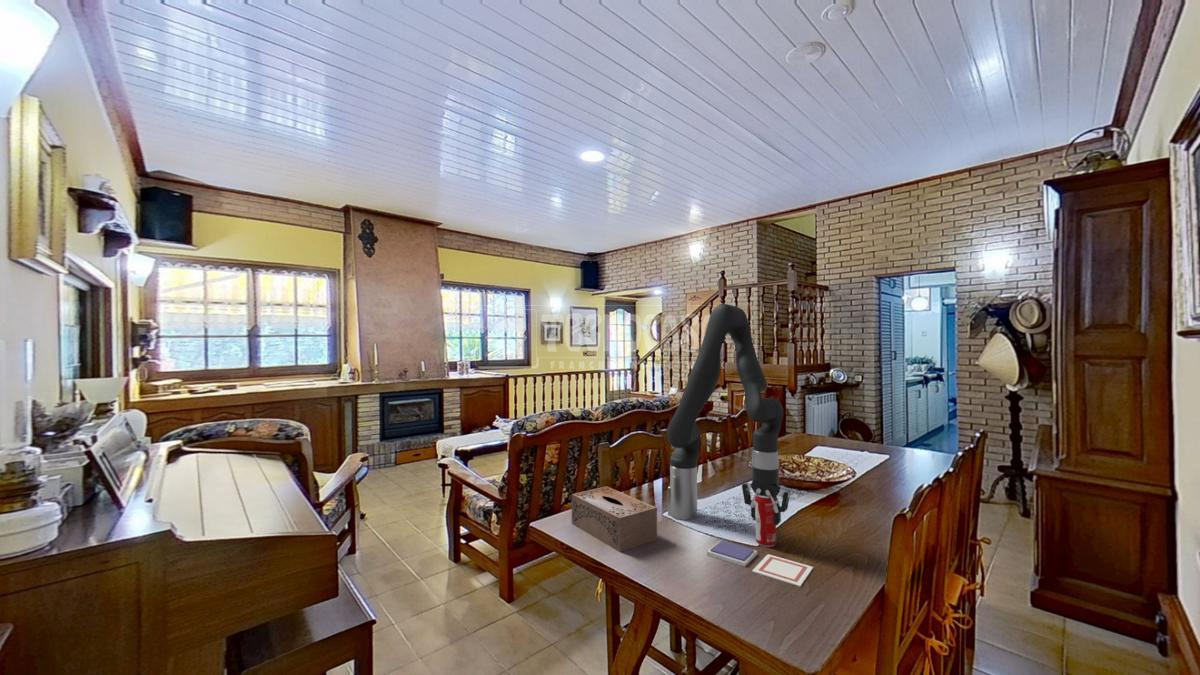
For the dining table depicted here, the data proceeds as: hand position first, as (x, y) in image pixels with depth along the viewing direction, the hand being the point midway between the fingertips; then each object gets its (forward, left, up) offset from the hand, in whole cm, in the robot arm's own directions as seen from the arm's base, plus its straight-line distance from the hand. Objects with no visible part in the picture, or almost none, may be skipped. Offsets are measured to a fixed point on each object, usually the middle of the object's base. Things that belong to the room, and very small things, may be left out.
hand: (765, 521), depth 138 cm
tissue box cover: (-42, -21, -7) cm, 47 cm away
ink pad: (-5, -13, -7) cm, 15 cm away
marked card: (+9, -13, -7) cm, 17 cm away
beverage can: (0, 0, -7) cm, 7 cm away
